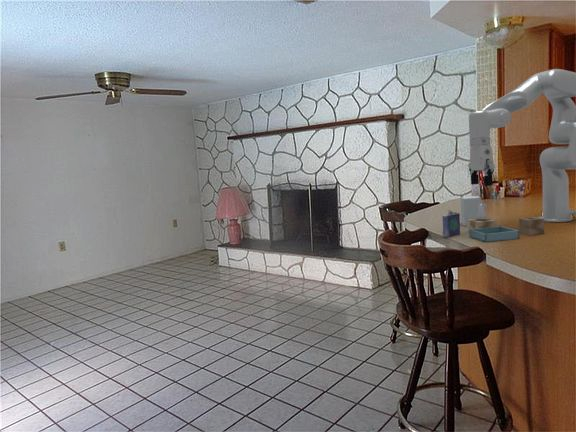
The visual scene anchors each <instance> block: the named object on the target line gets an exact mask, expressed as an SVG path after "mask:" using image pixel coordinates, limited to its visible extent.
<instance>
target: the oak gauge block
mask: <svg viewBox="0 0 576 432" xmlns="http://www.w3.org/2000/svg"><path fill="white" fill-rule="evenodd" d="M485 219H486V221H479V219H469V220H468V226H467V232H469V230H470V229H479V228H488V227H497V226H498V220H497V219H493V218H489V217H485Z"/></svg>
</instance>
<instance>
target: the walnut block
mask: <svg viewBox="0 0 576 432" xmlns="http://www.w3.org/2000/svg"><path fill="white" fill-rule="evenodd" d="M518 231H519V234H520V235H526V236H528V237H529V236H530V237H531V236H539V235H545V221H544V219H543V218H539V217H536V216H528V217H519V218H518Z"/></svg>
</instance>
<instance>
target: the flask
mask: <svg viewBox="0 0 576 432" xmlns="http://www.w3.org/2000/svg"><path fill="white" fill-rule="evenodd" d="M447 212H448V214H447V213H446V214H443V215H442V217H441V218H442V237H443V238H450V237H451V238H452V237H455V236H459V235H461V230H460V228H461V223H460V222H461V221H460V220H461V219H460V218H461V217H460V216H461V214H460V213H461V212H457V211H453V210H452V209H448V210H447Z"/></svg>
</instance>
